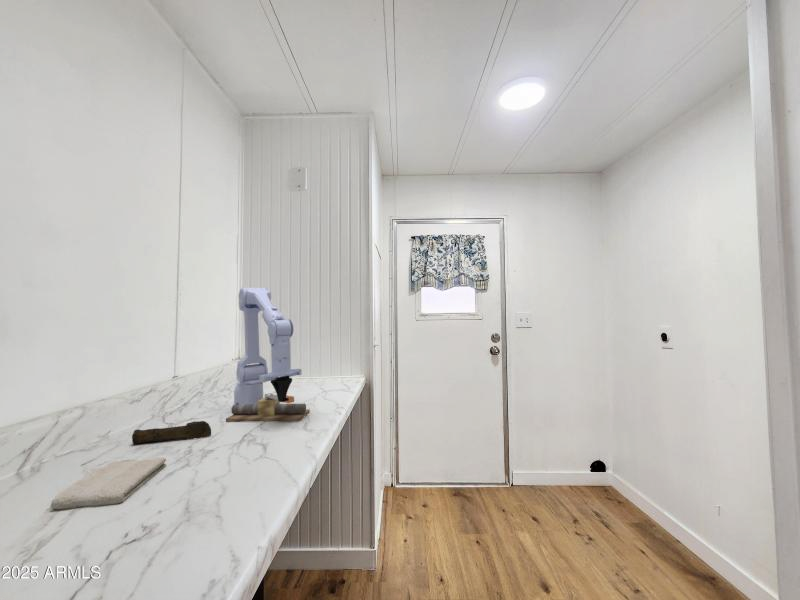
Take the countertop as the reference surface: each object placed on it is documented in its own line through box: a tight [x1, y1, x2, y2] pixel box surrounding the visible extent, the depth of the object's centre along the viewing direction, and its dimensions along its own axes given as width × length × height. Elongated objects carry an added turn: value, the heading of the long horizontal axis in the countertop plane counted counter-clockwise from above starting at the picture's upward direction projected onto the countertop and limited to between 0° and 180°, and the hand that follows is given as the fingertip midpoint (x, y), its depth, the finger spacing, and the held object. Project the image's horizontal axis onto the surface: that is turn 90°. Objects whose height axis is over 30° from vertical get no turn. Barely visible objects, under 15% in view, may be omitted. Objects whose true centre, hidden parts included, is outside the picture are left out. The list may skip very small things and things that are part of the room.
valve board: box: [225, 397, 311, 423], centre depth 120 cm, size 24×10×6 cm, turn 86°
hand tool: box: [131, 420, 212, 446], centre depth 100 cm, size 19×4×5 cm, turn 101°
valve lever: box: [264, 393, 295, 404], centre depth 118 cm, size 13×3×2 cm, turn 55°
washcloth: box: [50, 457, 167, 510], centre depth 74 cm, size 12×18×3 cm, turn 9°
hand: (281, 401), depth 114 cm, fingers closed
